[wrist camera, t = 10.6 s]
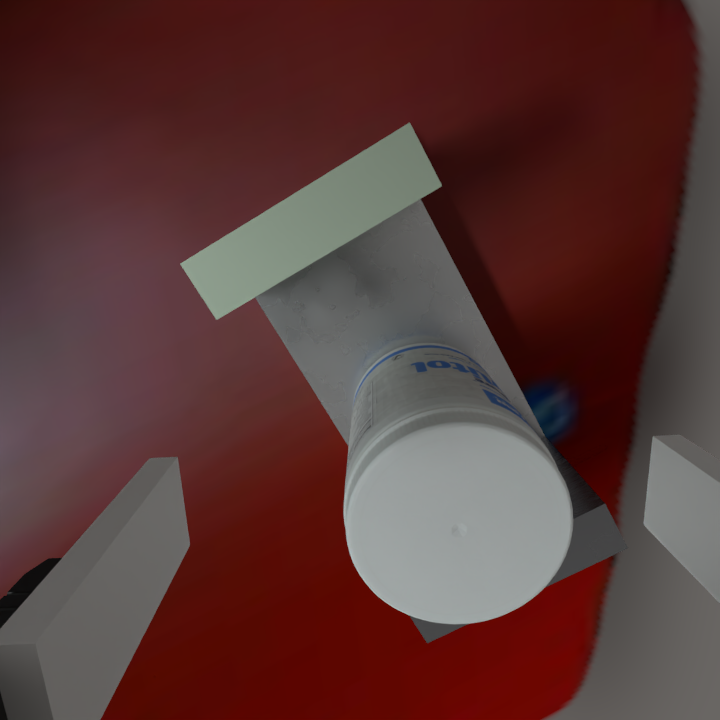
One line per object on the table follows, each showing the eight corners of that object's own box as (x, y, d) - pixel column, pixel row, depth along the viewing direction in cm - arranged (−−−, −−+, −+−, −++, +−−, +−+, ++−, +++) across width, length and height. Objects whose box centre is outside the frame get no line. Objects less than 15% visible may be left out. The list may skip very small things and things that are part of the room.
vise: (227, 239, 34) (167, 244, 24) (386, 142, 33) (398, 100, 22) (415, 541, 40) (435, 655, 29) (558, 469, 38) (635, 562, 28)
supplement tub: (507, 351, 34) (613, 439, 20) (477, 481, 36) (552, 644, 22) (361, 328, 34) (362, 402, 20) (340, 462, 36) (327, 615, 22)
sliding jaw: (227, 254, 32) (180, 263, 24) (396, 151, 31) (409, 122, 22) (253, 296, 33) (216, 319, 25) (420, 197, 32) (442, 186, 23)
